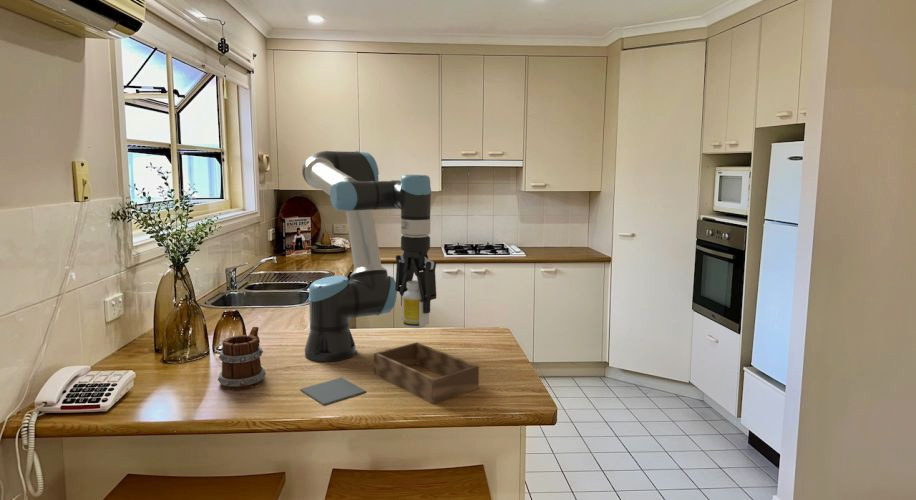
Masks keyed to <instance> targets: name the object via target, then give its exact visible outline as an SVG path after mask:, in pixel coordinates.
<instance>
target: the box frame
mask: <svg viewBox="0 0 916 500" xmlns="http://www.w3.org/2000/svg"><path fill="white" fill-rule="evenodd" d="M412 365H418V366H421V367H423V368H426V369H428V370H430V371H433V372H434V373H437V374H440V375H441V376H439V377H435V378H434V376H430V375H428V374H426V373H424V372H421V371H419V370H418V369H415V368H412V367H410V366H412ZM479 371H480V366H479V365H477V364H473V363H471V362H469V361H467V360H464V359H461V358H458V357H455V356H453V355H450V354H448V353H445V352H443V351H440V350H437V349H435V348H432V347H429V346H427V345H424V344H422V343H420V342H417V341H416V342H413V343H408V344H405V345H401V346H398V347H397V346H396V347H393V348H390V349H385V350H382V351H379V352H374V353H373V374H374V376H377V377H379V378H380V379H383V380H385V381H386V382H389V383H391V384H393V385H395V386H397V387H399V388H400V389H402V390H405V391H407V392H408V393H411V394H413V395H415V396H417V397H419V398H421V399H423V400H425V401H426V402H429V403H431V404H433V405H437V404H439V403H441V402H445V401H447V400H451V399H453V398H456V397H459V396H461V395H464V394H466V393H470V392H472V391H475V390H478V389H479V381H480V379H479V377H480V376H479Z"/></svg>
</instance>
